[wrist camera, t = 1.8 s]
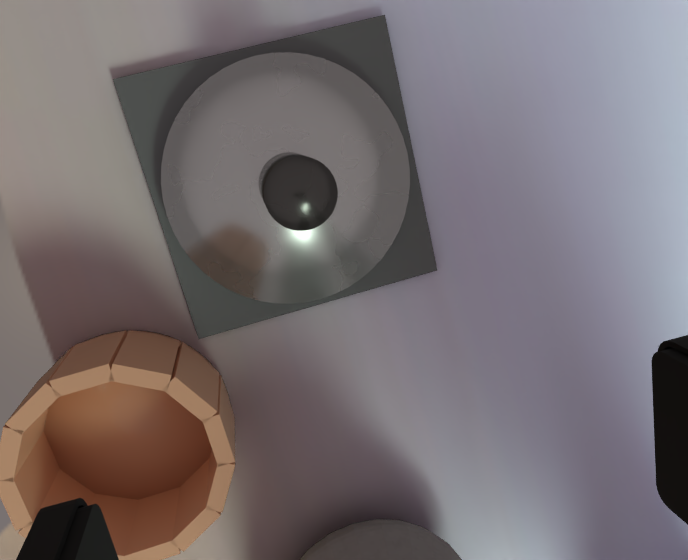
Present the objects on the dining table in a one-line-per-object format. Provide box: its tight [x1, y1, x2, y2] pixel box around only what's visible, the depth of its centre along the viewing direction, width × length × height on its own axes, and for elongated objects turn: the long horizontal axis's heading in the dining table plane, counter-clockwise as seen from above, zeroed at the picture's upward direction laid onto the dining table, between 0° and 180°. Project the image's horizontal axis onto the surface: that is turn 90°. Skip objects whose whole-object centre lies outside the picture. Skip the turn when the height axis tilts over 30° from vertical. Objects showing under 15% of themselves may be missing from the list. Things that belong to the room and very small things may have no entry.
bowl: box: [0, 330, 235, 560], centre depth 30 cm, size 10×10×5 cm
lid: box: [161, 52, 410, 304], centre depth 27 cm, size 12×12×6 cm
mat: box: [113, 15, 437, 339], centre depth 30 cm, size 13×13×1 cm
